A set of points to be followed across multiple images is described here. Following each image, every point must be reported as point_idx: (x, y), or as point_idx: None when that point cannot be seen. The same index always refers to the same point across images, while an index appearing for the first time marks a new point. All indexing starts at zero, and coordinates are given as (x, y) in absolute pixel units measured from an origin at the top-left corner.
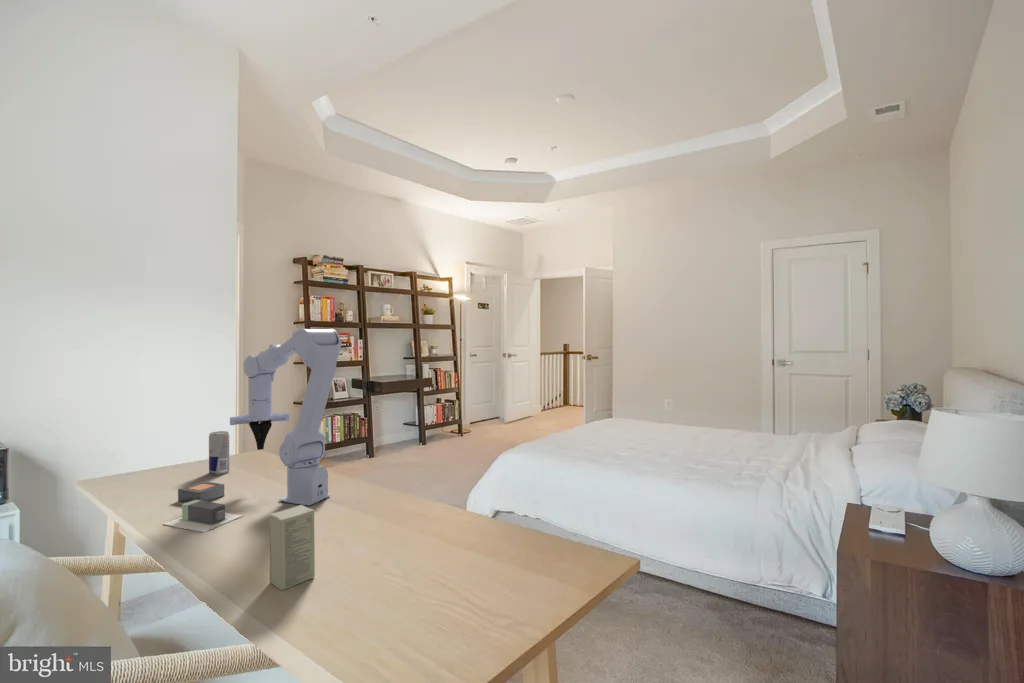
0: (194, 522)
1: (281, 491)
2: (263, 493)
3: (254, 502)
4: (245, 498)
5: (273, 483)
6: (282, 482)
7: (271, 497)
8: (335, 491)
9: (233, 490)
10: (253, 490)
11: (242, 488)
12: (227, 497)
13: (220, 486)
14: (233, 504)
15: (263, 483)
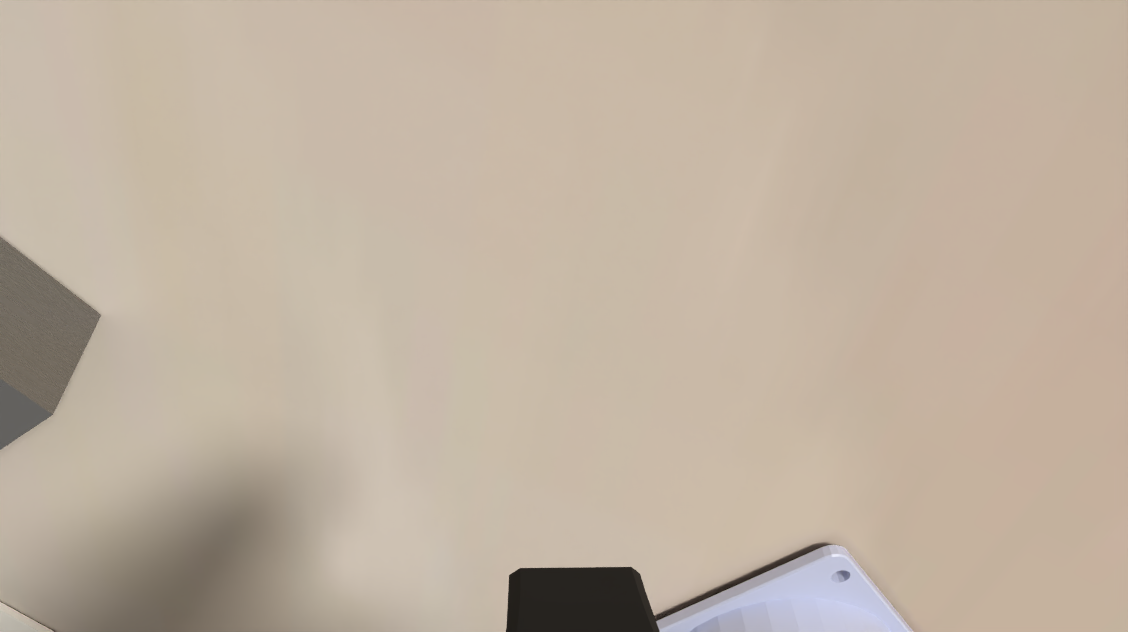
0: None
1: (696, 432)
2: (519, 414)
3: (407, 589)
4: (335, 475)
5: (722, 98)
6: (838, 114)
7: (564, 539)
8: (1069, 607)
9: (186, 151)
10: (432, 271)
11: (302, 120)
12: (147, 376)
13: (16, 435)
14: (230, 568)
15: (602, 21)
